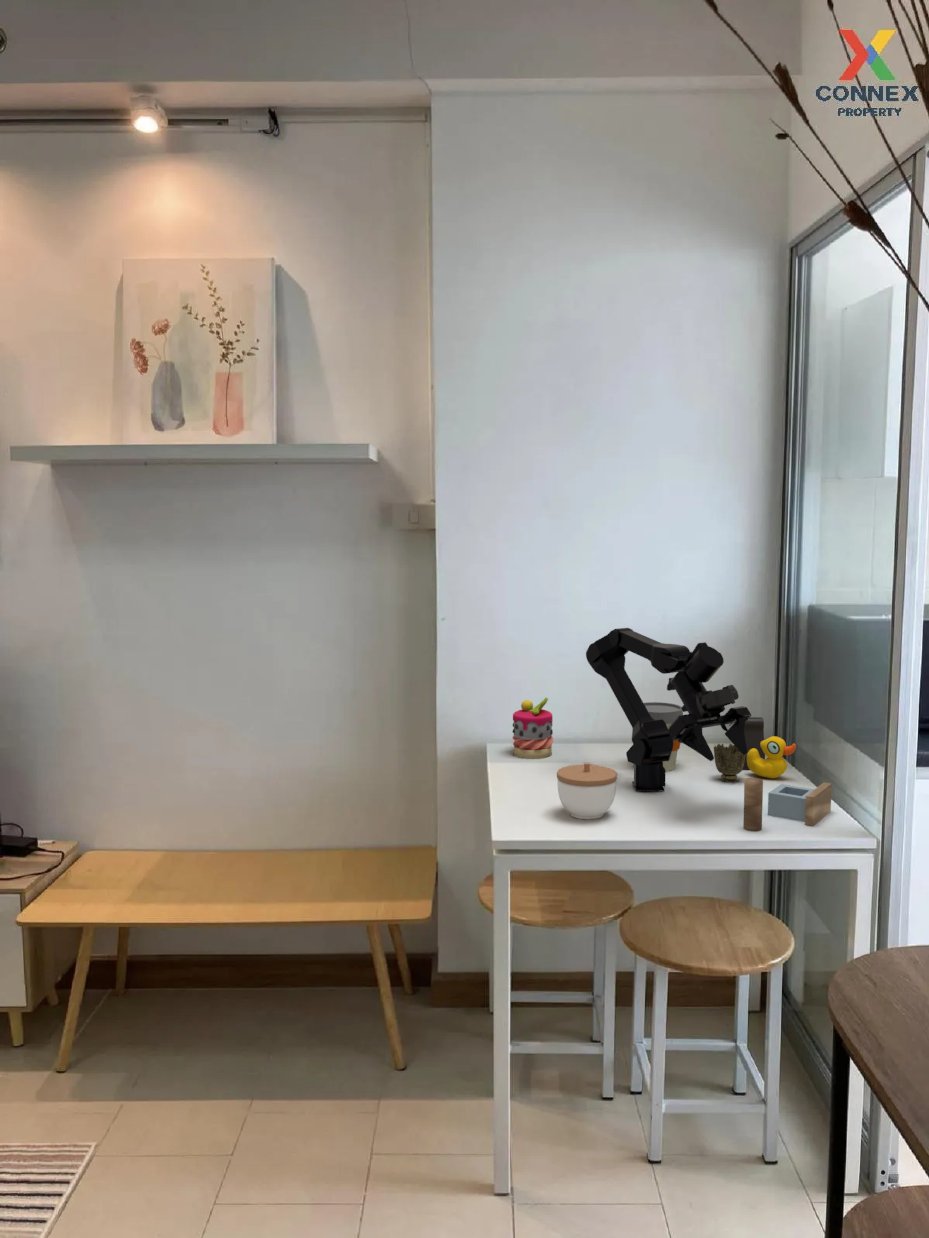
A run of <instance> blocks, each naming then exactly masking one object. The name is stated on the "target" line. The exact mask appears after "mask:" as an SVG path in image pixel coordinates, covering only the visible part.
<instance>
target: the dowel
mask: <svg viewBox="0 0 929 1238" xmlns="http://www.w3.org/2000/svg"><path fill="white" fill-rule="evenodd" d="M743 780H744V781H743V782H744V791H743V826H742V827H743V830H746V831H748V832H750V831H751V832H759V831H762V830H763V801H764V800H763V797H764V795H763V794H764V793H763V792H764V780H763V779H761V778H760V777H746V778H744V779H743Z"/></svg>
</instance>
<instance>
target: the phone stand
mask: <svg viewBox="0 0 929 1238" xmlns="http://www.w3.org/2000/svg"><path fill="white" fill-rule="evenodd" d="M764 728H765V721H764V718H763V717H761V716H760V717H758V716H757V717H752V716H751V717H750V718H749V719H748V721H747V722H746V724H745V726H744V734H745V740H746V745H747V751H748V752H749V750H750V749H753V748H755V749H757V750H758V753H759V755H760V757H761V758H762V759H766V755H765V754H764V752H763V750H762V748H761V746H760V743H761V741H763V740H765V732H764V731H765V730H764ZM747 754H748V753H747ZM747 754H746V755H745V762H744V766H743V769H742V771H751V770H750V769H749V768H748V765H747Z"/></svg>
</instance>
